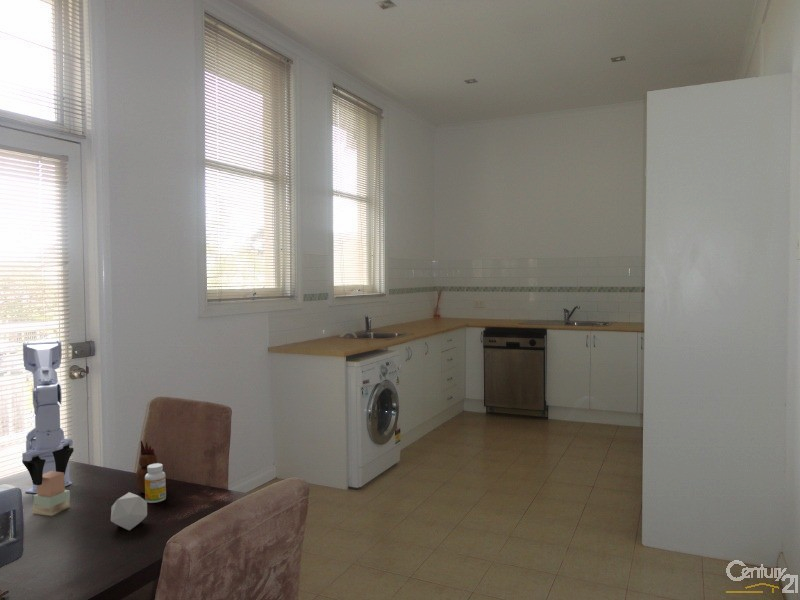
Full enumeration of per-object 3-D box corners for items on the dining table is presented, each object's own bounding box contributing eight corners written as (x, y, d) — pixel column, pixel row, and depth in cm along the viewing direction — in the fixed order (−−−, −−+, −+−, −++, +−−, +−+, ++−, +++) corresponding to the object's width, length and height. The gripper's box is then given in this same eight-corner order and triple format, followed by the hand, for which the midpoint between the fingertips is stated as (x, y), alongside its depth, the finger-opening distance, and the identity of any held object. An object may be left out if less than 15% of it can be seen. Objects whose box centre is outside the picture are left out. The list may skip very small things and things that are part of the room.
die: (155, 527, 149) (154, 490, 154) (132, 522, 142) (131, 483, 147) (126, 537, 150) (126, 500, 155) (102, 533, 143) (103, 494, 148)
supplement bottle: (146, 497, 168) (145, 463, 168) (166, 495, 170) (165, 461, 169) (144, 504, 163) (143, 469, 163) (165, 501, 165) (164, 467, 164)
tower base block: (51, 506, 163) (51, 497, 163) (69, 508, 161) (69, 499, 161) (32, 514, 157) (32, 505, 157) (51, 516, 156) (51, 507, 156)
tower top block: (53, 496, 163) (53, 487, 163) (70, 499, 161) (69, 490, 161) (33, 504, 158) (33, 495, 157) (50, 507, 155) (49, 498, 155)
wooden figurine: (132, 493, 171) (130, 442, 171) (147, 487, 177) (146, 437, 176) (150, 496, 169) (149, 444, 168) (165, 489, 174) (164, 439, 174)
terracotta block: (51, 488, 162) (51, 471, 162) (64, 490, 161) (63, 472, 160) (37, 495, 158) (36, 476, 157) (50, 496, 156) (49, 478, 156)
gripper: (37, 437, 151) (39, 490, 151) (81, 423, 165) (82, 472, 165) (15, 435, 152) (16, 488, 153) (60, 422, 166) (61, 470, 167)
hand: (49, 479), depth 159 cm, fingers open, 7 cm apart
